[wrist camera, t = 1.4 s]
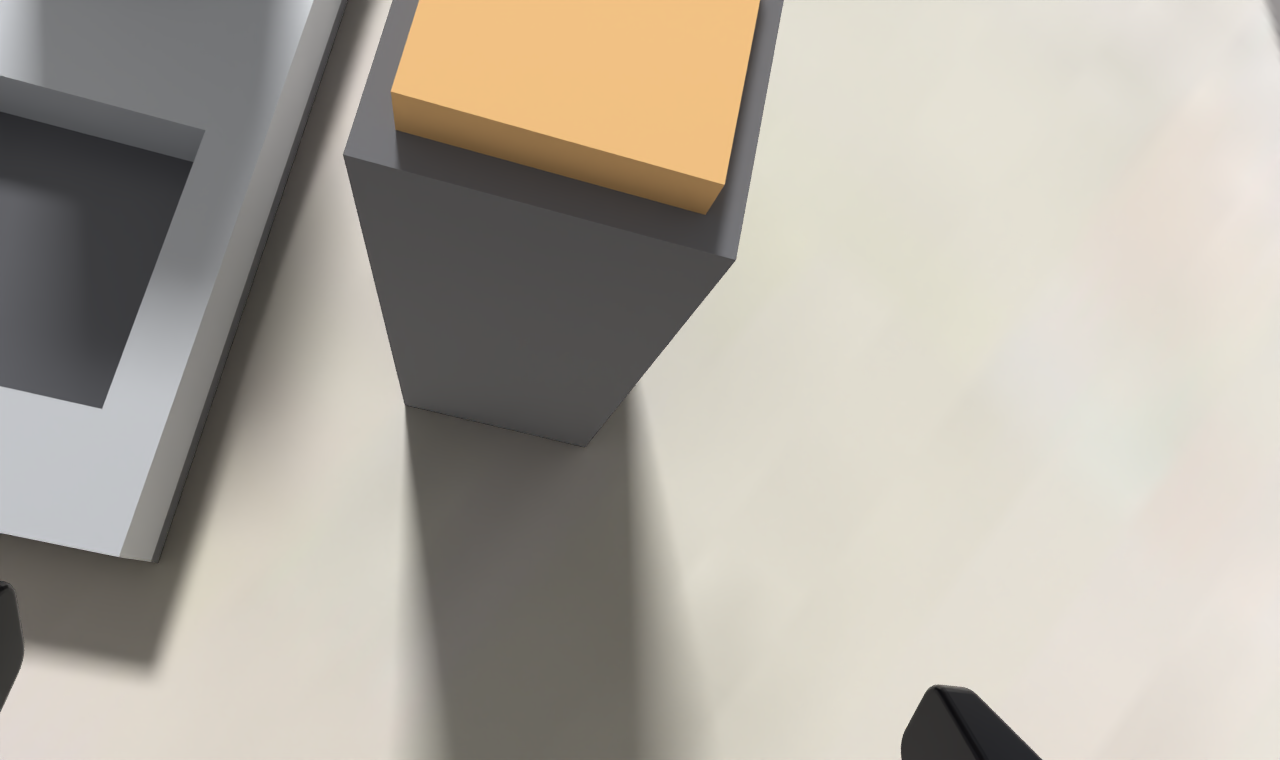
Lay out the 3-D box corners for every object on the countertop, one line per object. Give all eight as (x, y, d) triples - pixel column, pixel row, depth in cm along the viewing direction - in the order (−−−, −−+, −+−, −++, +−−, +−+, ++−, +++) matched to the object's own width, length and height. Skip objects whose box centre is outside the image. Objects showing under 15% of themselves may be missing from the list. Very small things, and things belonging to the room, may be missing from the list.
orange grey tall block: (584, 447, 23) (756, 233, 10) (404, 404, 22) (334, 117, 9) (620, 281, 24) (817, -104, 11) (451, 237, 24) (446, -226, 11)
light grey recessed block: (157, 563, 21) (118, 557, 18) (-287, 472, 19) (-390, 453, 17) (415, -202, 27) (412, -282, 24) (88, -308, 25) (50, -403, 23)
